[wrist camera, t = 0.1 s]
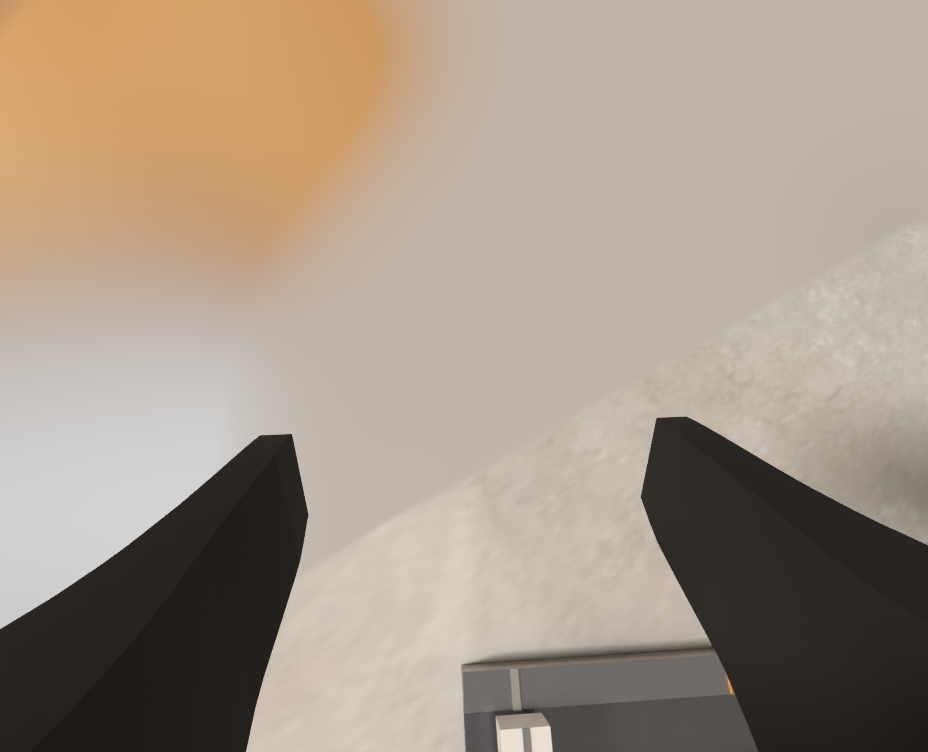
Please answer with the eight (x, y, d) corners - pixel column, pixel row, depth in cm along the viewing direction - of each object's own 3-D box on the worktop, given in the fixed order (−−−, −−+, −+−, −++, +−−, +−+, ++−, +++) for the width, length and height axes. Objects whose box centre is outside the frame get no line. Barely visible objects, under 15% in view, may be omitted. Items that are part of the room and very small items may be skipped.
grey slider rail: (802, 790, 35) (832, 809, 32) (468, 817, 34) (470, 839, 31) (768, 644, 38) (792, 650, 36) (461, 665, 37) (462, 672, 34)
